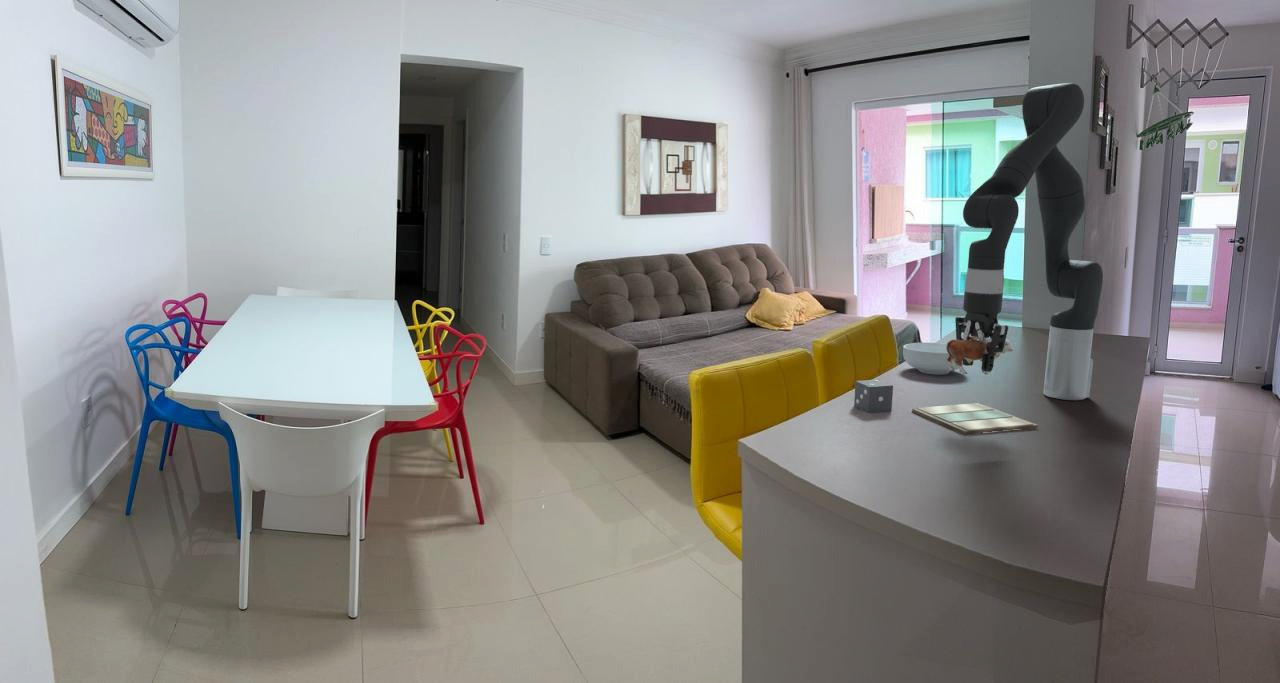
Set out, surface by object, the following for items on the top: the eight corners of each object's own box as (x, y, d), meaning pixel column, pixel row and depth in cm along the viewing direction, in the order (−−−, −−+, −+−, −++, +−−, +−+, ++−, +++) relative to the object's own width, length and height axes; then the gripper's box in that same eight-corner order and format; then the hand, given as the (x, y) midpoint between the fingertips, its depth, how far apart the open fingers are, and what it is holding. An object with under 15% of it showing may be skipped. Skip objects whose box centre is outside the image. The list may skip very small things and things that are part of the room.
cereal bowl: (964, 367, 221) (966, 343, 220) (968, 380, 206) (970, 354, 205) (901, 363, 227) (903, 339, 226) (901, 375, 212) (902, 350, 210)
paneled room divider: (979, 406, 180) (979, 402, 180) (1037, 428, 163) (1038, 424, 163) (912, 412, 175) (912, 407, 175) (964, 435, 158) (965, 430, 158)
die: (876, 404, 182) (878, 379, 181) (891, 411, 176) (893, 385, 175) (853, 406, 180) (855, 380, 179) (868, 412, 174) (869, 386, 173)
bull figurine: (1012, 376, 164) (1016, 339, 162) (945, 373, 166) (948, 336, 165) (1007, 372, 168) (1011, 335, 166) (942, 369, 170) (945, 332, 169)
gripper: (1023, 293, 158) (1015, 374, 161) (975, 286, 172) (969, 360, 175) (992, 294, 156) (985, 376, 159) (946, 286, 170) (940, 362, 173)
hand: (977, 367), depth 167 cm, fingers closed on bull figurine, 5 cm apart
